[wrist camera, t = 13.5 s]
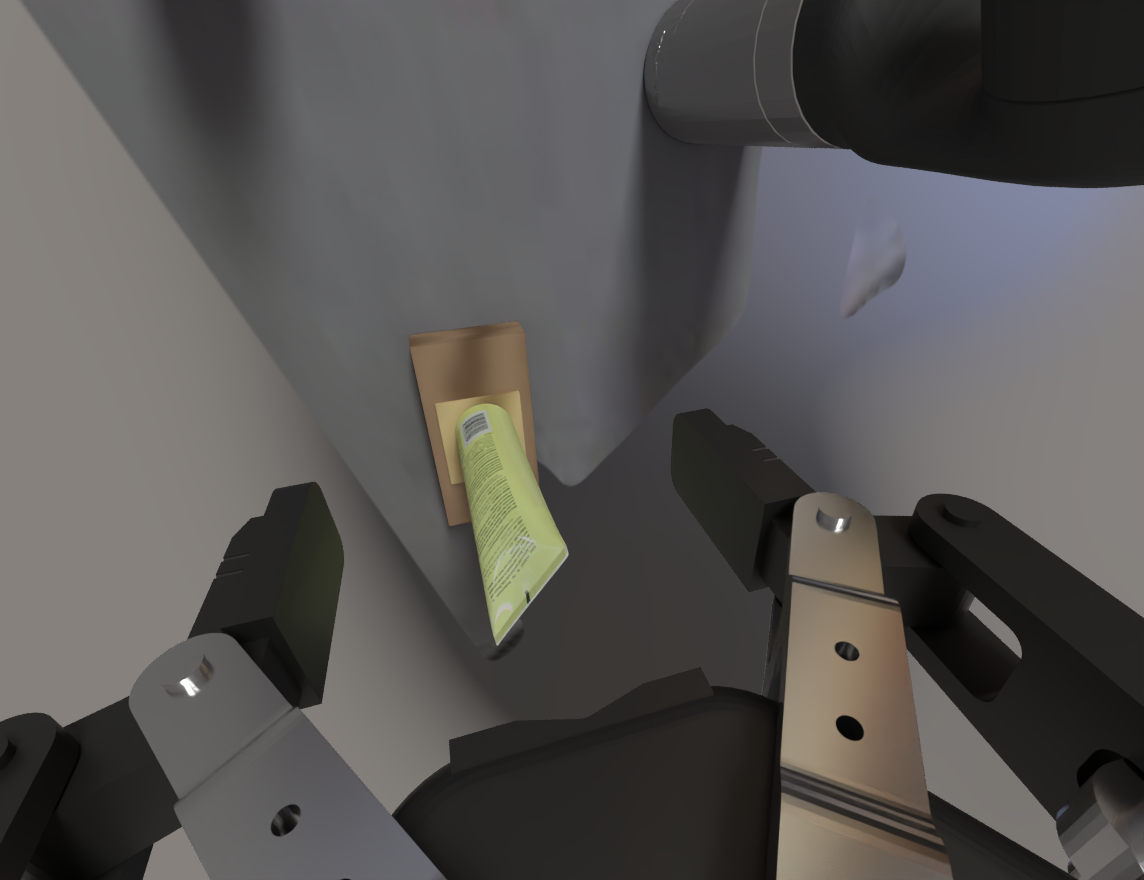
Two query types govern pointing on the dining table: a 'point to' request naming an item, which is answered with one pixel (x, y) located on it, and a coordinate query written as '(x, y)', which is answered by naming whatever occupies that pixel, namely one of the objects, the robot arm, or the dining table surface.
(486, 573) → the tube
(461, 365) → the brown flat panelled slab
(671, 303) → the dining table surface
